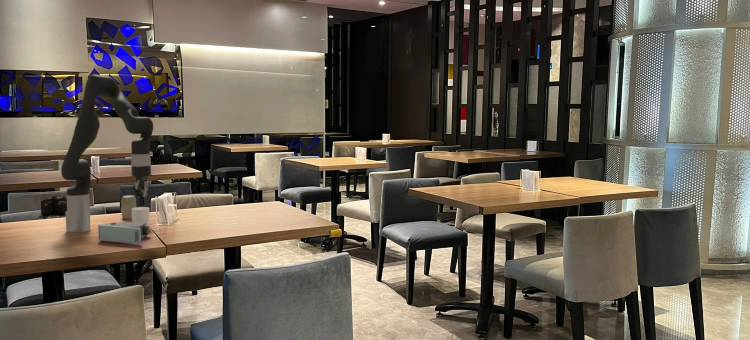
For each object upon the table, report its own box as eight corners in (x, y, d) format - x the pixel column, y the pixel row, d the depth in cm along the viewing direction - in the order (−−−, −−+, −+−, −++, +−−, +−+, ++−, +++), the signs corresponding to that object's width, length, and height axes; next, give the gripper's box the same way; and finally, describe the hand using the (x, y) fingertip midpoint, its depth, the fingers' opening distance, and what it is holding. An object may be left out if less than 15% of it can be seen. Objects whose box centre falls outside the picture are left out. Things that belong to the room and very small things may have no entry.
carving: (139, 218, 293) (138, 195, 292) (127, 220, 286) (126, 197, 285) (131, 217, 296) (130, 194, 295) (118, 219, 289) (118, 196, 288)
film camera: (61, 216, 298) (60, 197, 297) (37, 215, 298) (37, 197, 297) (79, 210, 316) (78, 193, 315) (57, 210, 316) (56, 192, 315)
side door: (96, 240, 238) (96, 225, 237) (100, 239, 239) (99, 224, 239) (138, 244, 231) (137, 228, 231) (141, 243, 233) (140, 228, 232)
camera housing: (101, 240, 240) (100, 225, 240) (109, 236, 249) (109, 221, 249) (142, 240, 241) (142, 225, 240) (149, 236, 250) (149, 221, 249)
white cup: (132, 231, 260) (132, 210, 259) (131, 228, 267) (130, 207, 266) (151, 230, 263) (150, 209, 262) (149, 227, 270) (148, 206, 269)
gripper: (137, 163, 241) (139, 203, 243) (125, 166, 228) (127, 208, 230) (155, 163, 242) (156, 203, 243) (144, 166, 228) (146, 208, 230)
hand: (142, 205), depth 236 cm, fingers closed
